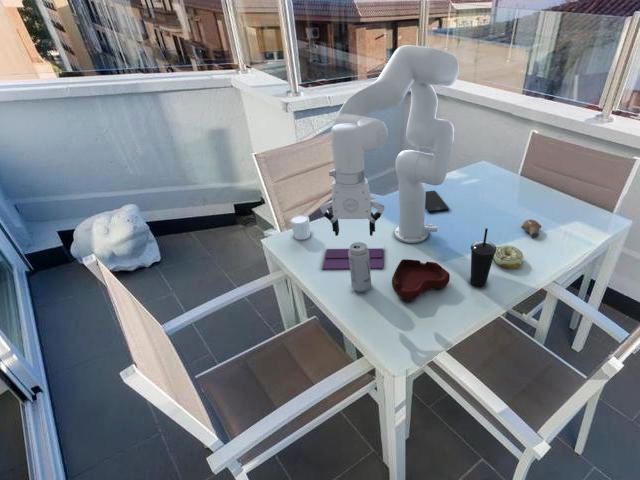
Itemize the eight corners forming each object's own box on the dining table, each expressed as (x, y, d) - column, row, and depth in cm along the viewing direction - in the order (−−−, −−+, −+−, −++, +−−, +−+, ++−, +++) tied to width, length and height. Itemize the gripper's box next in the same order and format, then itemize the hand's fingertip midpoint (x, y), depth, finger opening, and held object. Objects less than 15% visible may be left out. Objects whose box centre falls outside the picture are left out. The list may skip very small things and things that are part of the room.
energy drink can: (370, 293, 118) (367, 252, 109) (350, 292, 118) (346, 252, 109) (372, 281, 123) (369, 241, 114) (353, 280, 123) (349, 241, 114)
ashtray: (424, 262, 131) (424, 250, 128) (453, 288, 120) (454, 276, 117) (378, 279, 124) (377, 267, 120) (405, 308, 113) (405, 296, 110)
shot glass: (307, 241, 141) (304, 224, 136) (289, 239, 142) (286, 222, 137) (314, 232, 146) (312, 215, 142) (297, 229, 147) (294, 213, 143)
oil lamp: (515, 234, 148) (535, 241, 144) (517, 226, 145) (537, 233, 141) (526, 222, 153) (545, 229, 149) (527, 214, 150) (547, 221, 146)
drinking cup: (491, 278, 125) (501, 224, 112) (487, 293, 119) (497, 238, 107) (468, 273, 127) (476, 220, 114) (463, 287, 121) (470, 232, 109)
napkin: (383, 250, 137) (383, 248, 136) (382, 268, 128) (382, 266, 128) (326, 250, 136) (326, 249, 136) (322, 269, 128) (322, 267, 127)
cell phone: (429, 213, 158) (429, 211, 158) (416, 194, 172) (416, 192, 171) (449, 210, 161) (449, 208, 160) (434, 192, 174) (434, 190, 173)
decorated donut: (495, 270, 128) (496, 261, 126) (487, 252, 137) (489, 243, 134) (525, 269, 129) (527, 260, 126) (516, 251, 137) (518, 242, 135)
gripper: (313, 181, 95) (321, 240, 106) (383, 181, 96) (384, 240, 106) (318, 169, 101) (325, 226, 112) (384, 170, 102) (385, 226, 112)
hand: (354, 233), depth 109 cm, fingers open, 9 cm apart
